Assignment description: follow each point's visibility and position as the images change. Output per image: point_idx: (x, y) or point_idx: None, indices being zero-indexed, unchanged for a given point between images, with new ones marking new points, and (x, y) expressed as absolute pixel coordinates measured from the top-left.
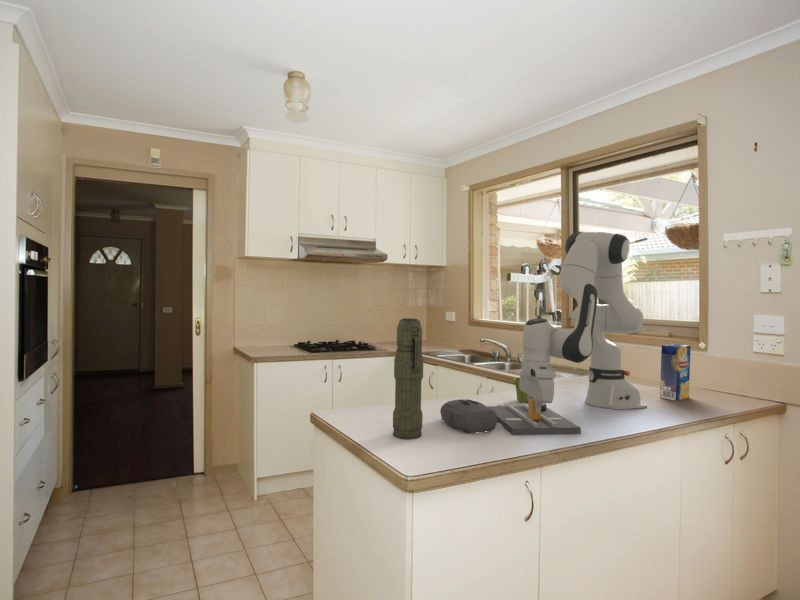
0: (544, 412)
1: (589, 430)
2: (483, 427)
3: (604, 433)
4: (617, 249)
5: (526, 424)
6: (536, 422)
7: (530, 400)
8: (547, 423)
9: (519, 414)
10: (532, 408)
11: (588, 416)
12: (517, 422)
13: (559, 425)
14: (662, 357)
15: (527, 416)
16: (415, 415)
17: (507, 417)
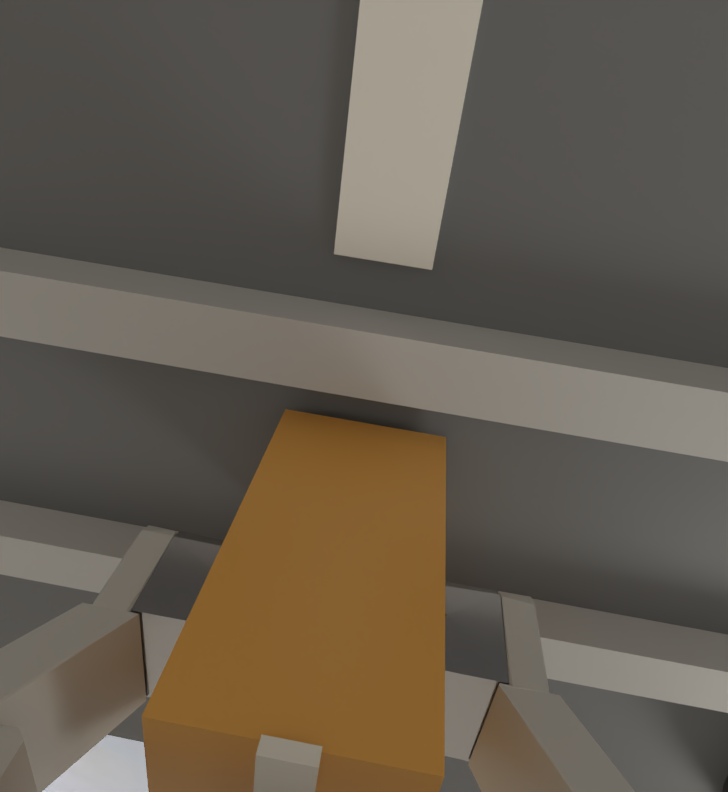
0: (651, 758)
1: (135, 752)
2: None
3: (56, 780)
4: None
5: (40, 177)
6: (173, 412)
7: (274, 736)
8: (117, 518)
9: (617, 365)
10: (221, 558)
11: None
12: (177, 54)
13: (34, 589)
14: None
15: (544, 471)
16: None
17: (633, 22)
